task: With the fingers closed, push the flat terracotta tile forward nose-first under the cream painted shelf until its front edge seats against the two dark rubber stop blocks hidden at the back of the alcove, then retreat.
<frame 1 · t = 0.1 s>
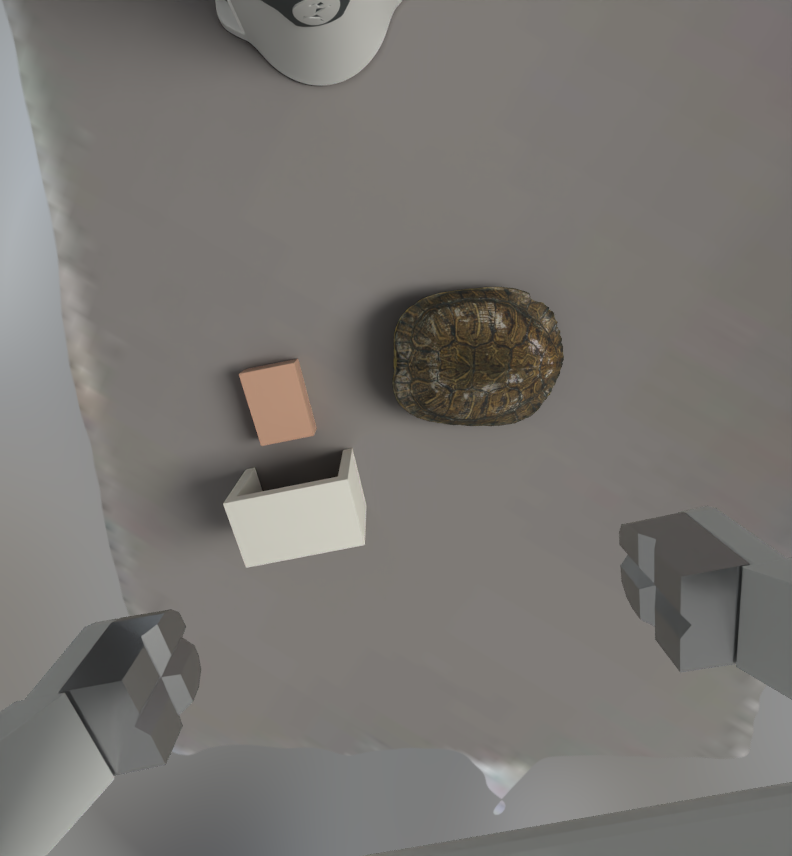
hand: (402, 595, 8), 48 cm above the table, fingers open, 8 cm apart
turtle shell: (473, 355, 56), on the table
tile: (282, 398, 57), on the table
shelf: (301, 469, 59), on the table
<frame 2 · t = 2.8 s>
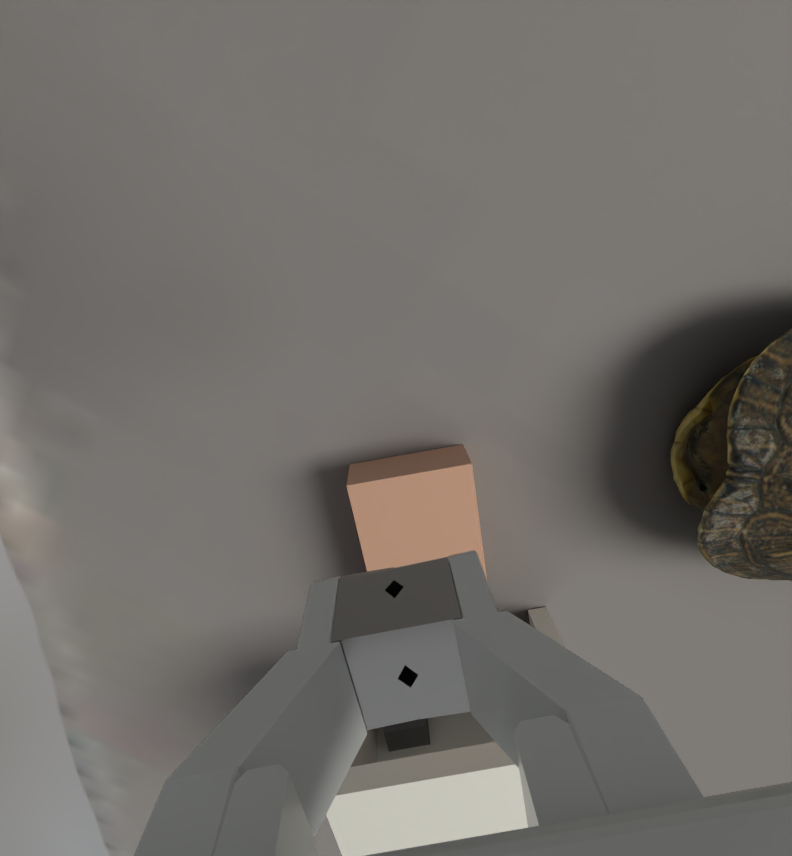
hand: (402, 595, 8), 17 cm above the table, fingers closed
tile: (417, 519, 28), on the table
shelf: (444, 643, 31), on the table
stop blocks: (458, 713, 31), in the shelf
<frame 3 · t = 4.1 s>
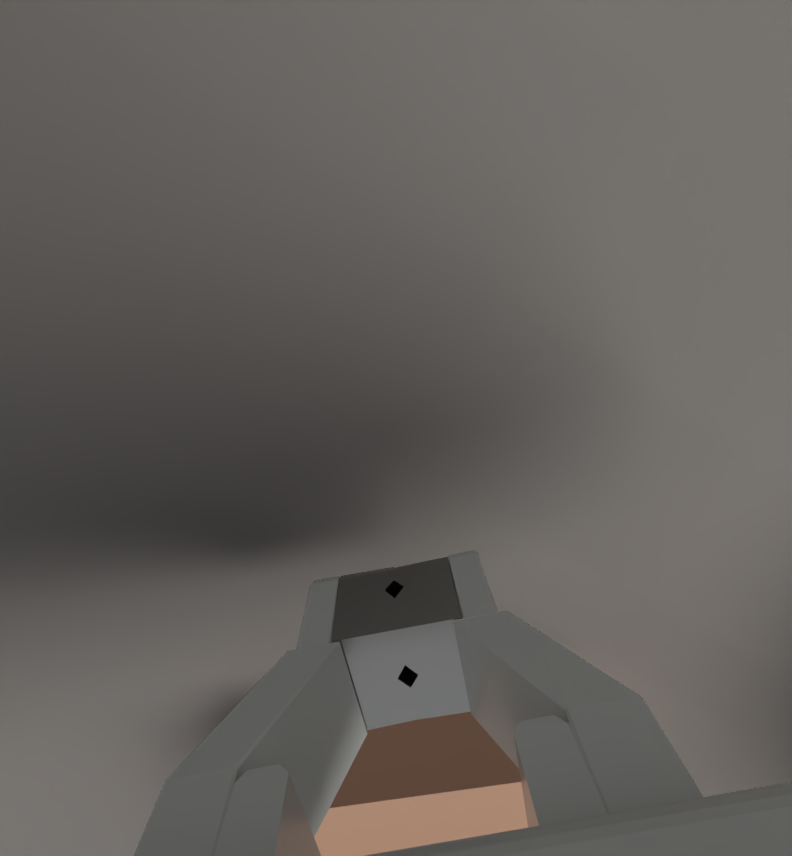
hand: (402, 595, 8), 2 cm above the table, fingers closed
tile: (444, 784, 14), on the table
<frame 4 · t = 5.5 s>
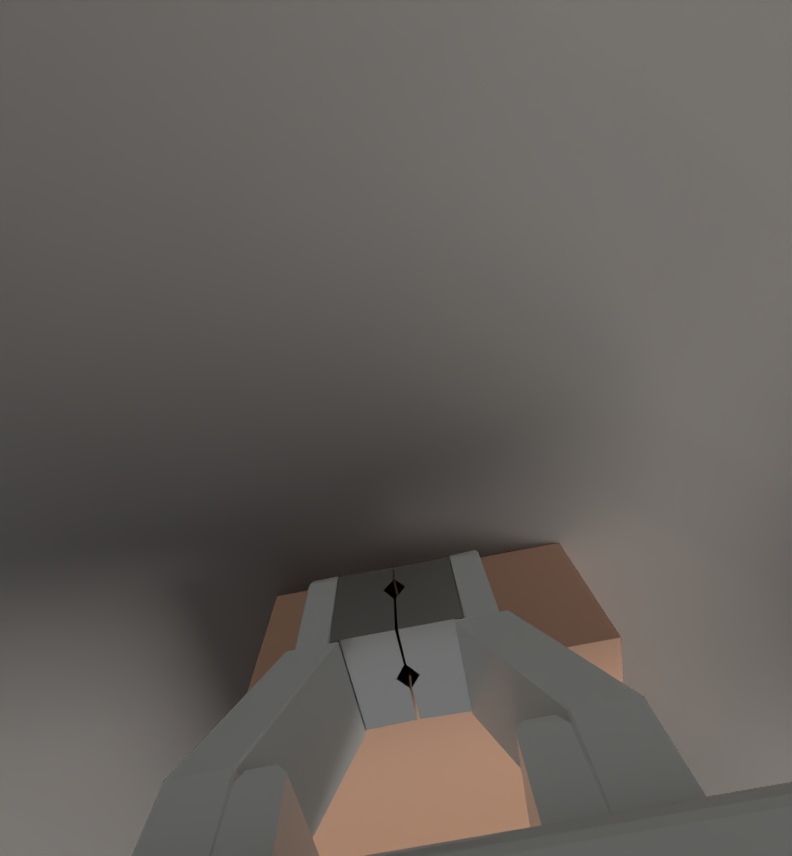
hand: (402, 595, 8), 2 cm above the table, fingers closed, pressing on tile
tile: (446, 705, 12), on the table, touching gripper
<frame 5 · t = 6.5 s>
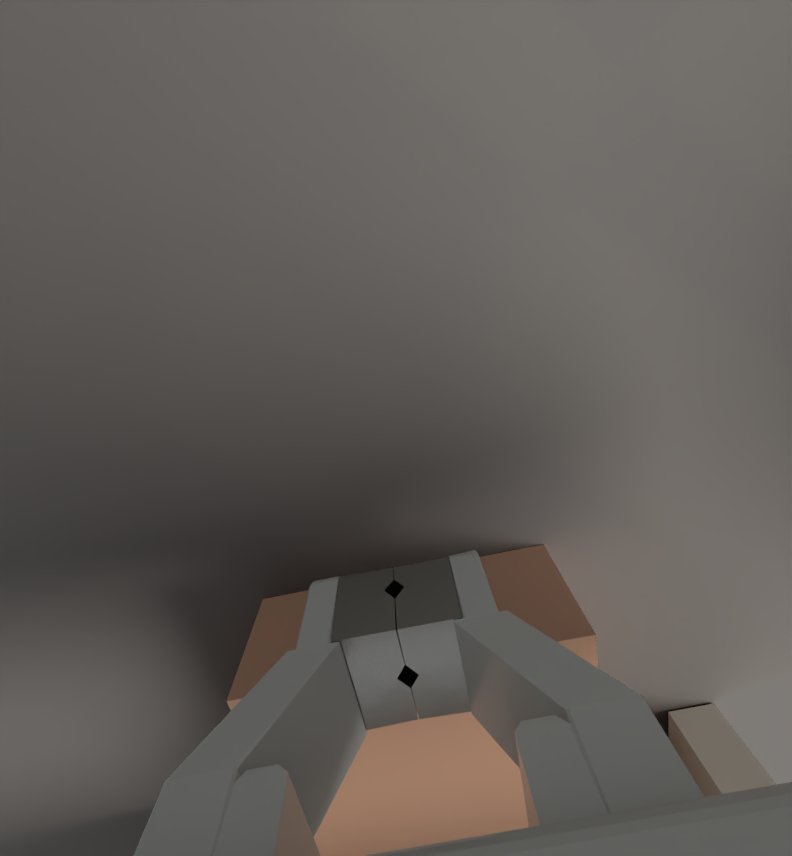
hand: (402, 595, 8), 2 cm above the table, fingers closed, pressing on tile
tile: (434, 701, 12), on the table, touching gripper
shelf: (460, 788, 13), on the table
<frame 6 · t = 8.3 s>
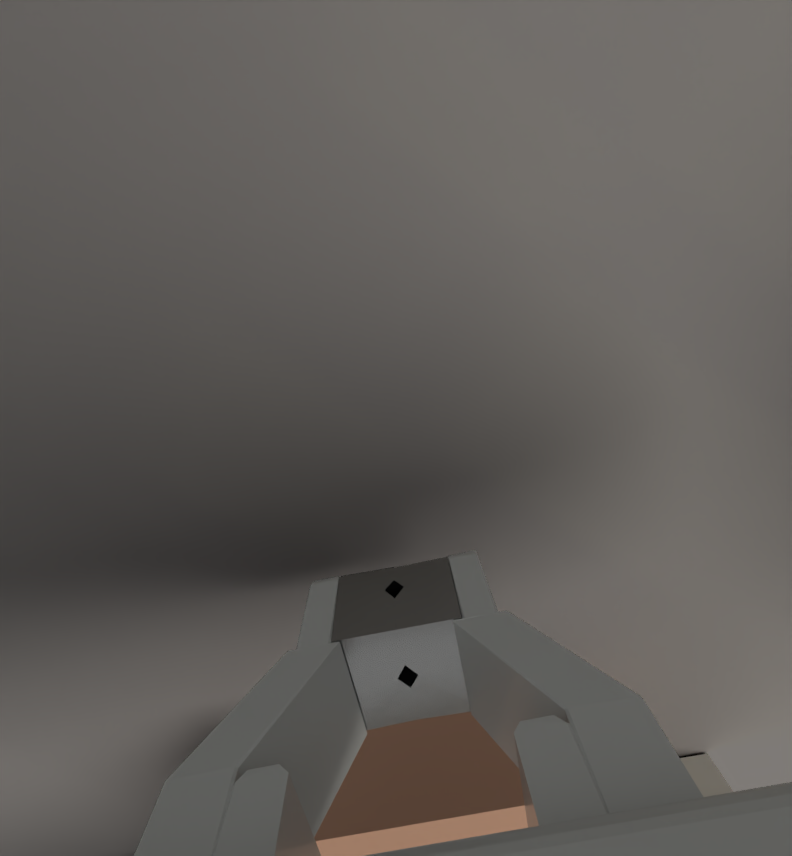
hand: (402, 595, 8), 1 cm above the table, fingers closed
tile: (437, 807, 13), on the table
shelf: (453, 834, 13), on the table
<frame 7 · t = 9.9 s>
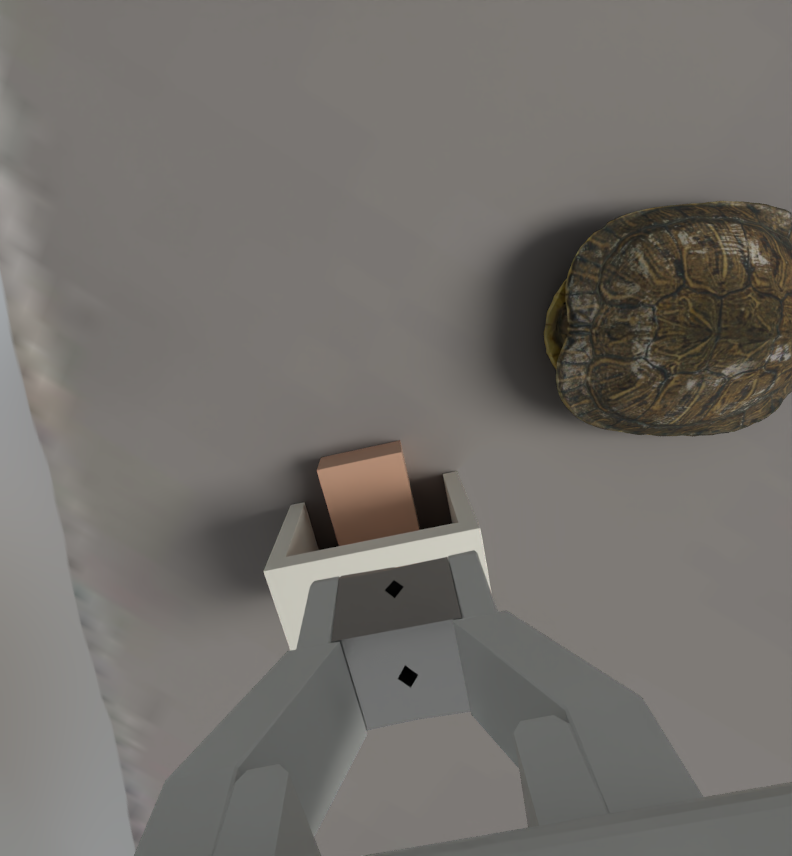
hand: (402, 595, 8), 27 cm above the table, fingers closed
turtle shell: (665, 324, 35), on the table
tile: (373, 496, 38), on the table, touching stop blocks
shelf: (377, 504, 38), on the table
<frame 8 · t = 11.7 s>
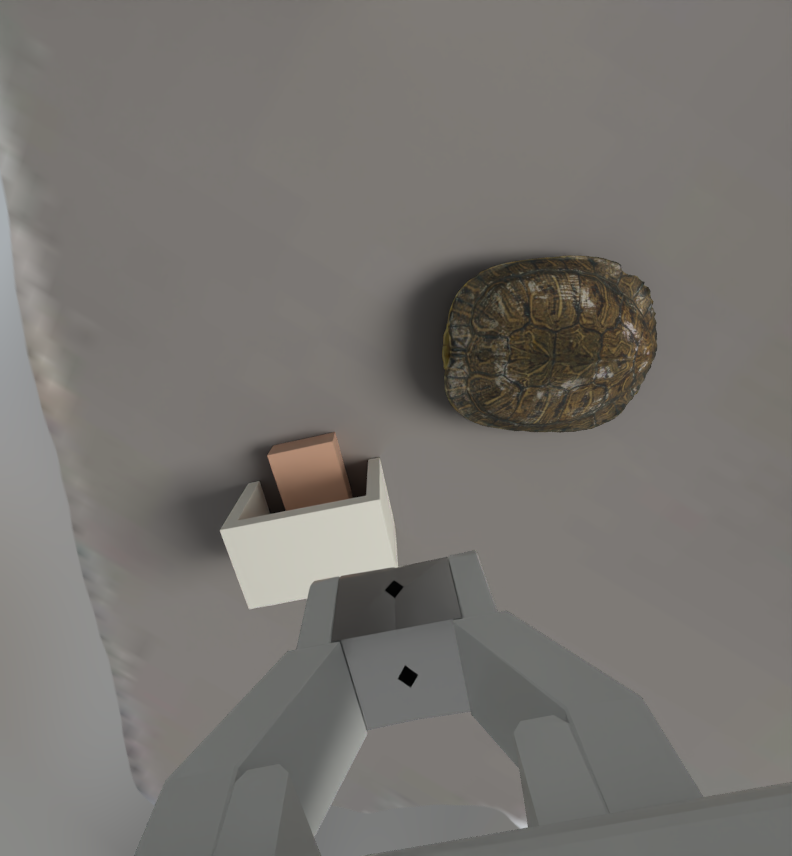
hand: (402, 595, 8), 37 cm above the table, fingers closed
turtle shell: (540, 344, 45), on the table
tile: (316, 476, 49), on the table
shelf: (317, 483, 48), on the table
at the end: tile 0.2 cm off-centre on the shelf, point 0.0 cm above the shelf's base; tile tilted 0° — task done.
